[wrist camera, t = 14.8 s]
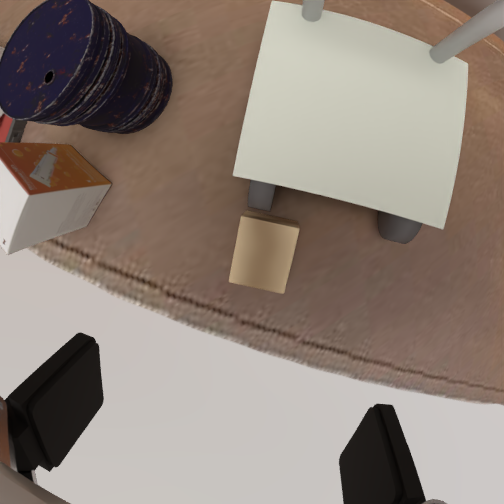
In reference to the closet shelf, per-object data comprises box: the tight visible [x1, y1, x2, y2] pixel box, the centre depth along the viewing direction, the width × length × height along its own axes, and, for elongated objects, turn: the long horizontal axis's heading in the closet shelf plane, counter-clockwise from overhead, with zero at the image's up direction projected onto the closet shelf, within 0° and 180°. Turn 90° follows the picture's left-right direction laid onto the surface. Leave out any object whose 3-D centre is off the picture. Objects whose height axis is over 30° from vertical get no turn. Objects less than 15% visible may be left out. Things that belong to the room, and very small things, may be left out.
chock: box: [229, 210, 300, 294], centre depth 29 cm, size 5×6×4 cm
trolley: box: [233, 0, 504, 244], centre depth 16 cm, size 16×19×23 cm
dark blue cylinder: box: [0, 0, 172, 134], centre depth 20 cm, size 10×10×15 cm
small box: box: [0, 142, 111, 255], centre depth 25 cm, size 8×6×13 cm
